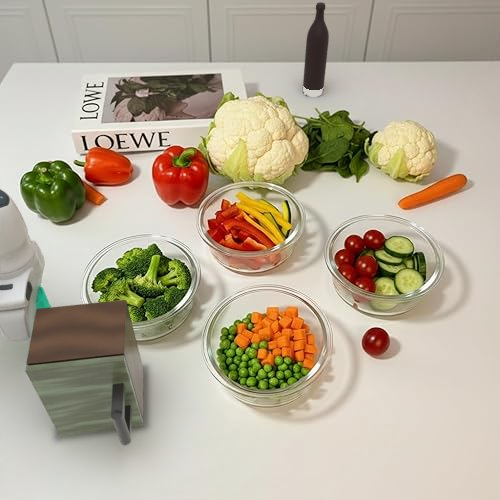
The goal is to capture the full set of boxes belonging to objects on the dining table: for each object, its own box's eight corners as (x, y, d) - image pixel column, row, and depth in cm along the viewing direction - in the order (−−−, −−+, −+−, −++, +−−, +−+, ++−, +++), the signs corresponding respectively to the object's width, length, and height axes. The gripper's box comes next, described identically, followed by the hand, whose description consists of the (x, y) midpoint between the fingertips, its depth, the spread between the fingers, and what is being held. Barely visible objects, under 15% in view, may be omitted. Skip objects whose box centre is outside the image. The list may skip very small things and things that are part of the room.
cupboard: (143, 420, 101) (124, 353, 85) (61, 430, 100) (26, 363, 84) (143, 370, 109) (126, 299, 93) (67, 378, 107) (36, 308, 92)
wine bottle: (325, 90, 188) (335, 1, 167) (319, 100, 183) (328, 9, 162) (306, 86, 190) (313, -2, 169) (299, 96, 185) (306, 6, 164)
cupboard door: (143, 460, 95) (122, 396, 80) (55, 471, 94) (18, 409, 79) (143, 421, 101) (124, 355, 85) (60, 431, 99) (26, 365, 84)
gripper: (6, 228, 103) (28, 277, 113) (-17, 313, 88) (10, 360, 98) (40, 225, 103) (59, 274, 113) (23, 308, 89) (46, 356, 99)
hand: (36, 315), depth 106 cm, fingers closed on candle, 5 cm apart
